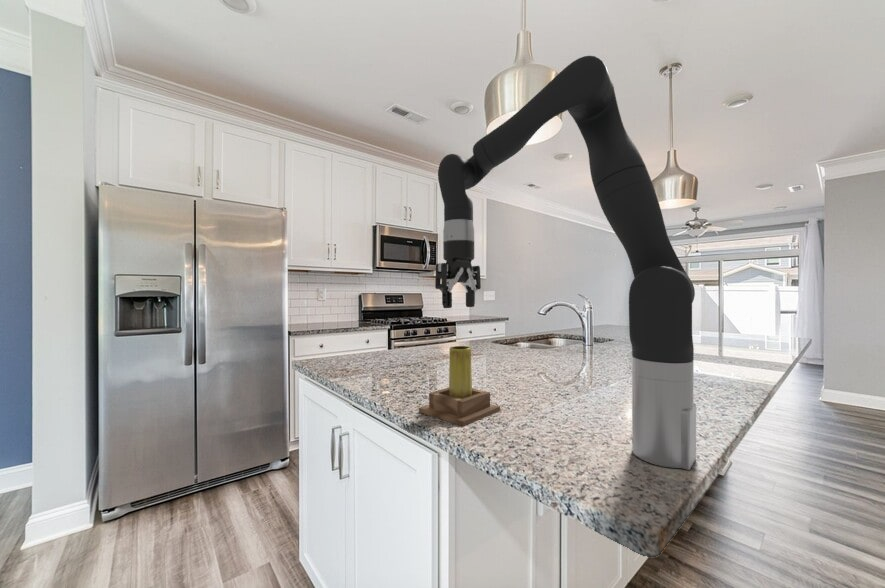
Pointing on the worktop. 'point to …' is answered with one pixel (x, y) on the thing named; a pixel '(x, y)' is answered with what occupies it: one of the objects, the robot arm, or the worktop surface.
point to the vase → (460, 372)
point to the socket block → (459, 406)
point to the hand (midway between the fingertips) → (459, 307)
